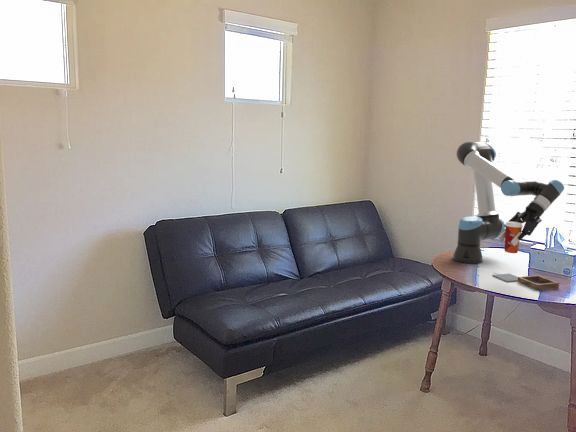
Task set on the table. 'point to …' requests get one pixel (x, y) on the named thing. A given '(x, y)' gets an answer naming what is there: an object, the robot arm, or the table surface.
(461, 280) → the table surface
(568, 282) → the table surface
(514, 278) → the mat
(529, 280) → the brown square open frame
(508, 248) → the paper cup
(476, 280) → the table surface
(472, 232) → the robot arm
